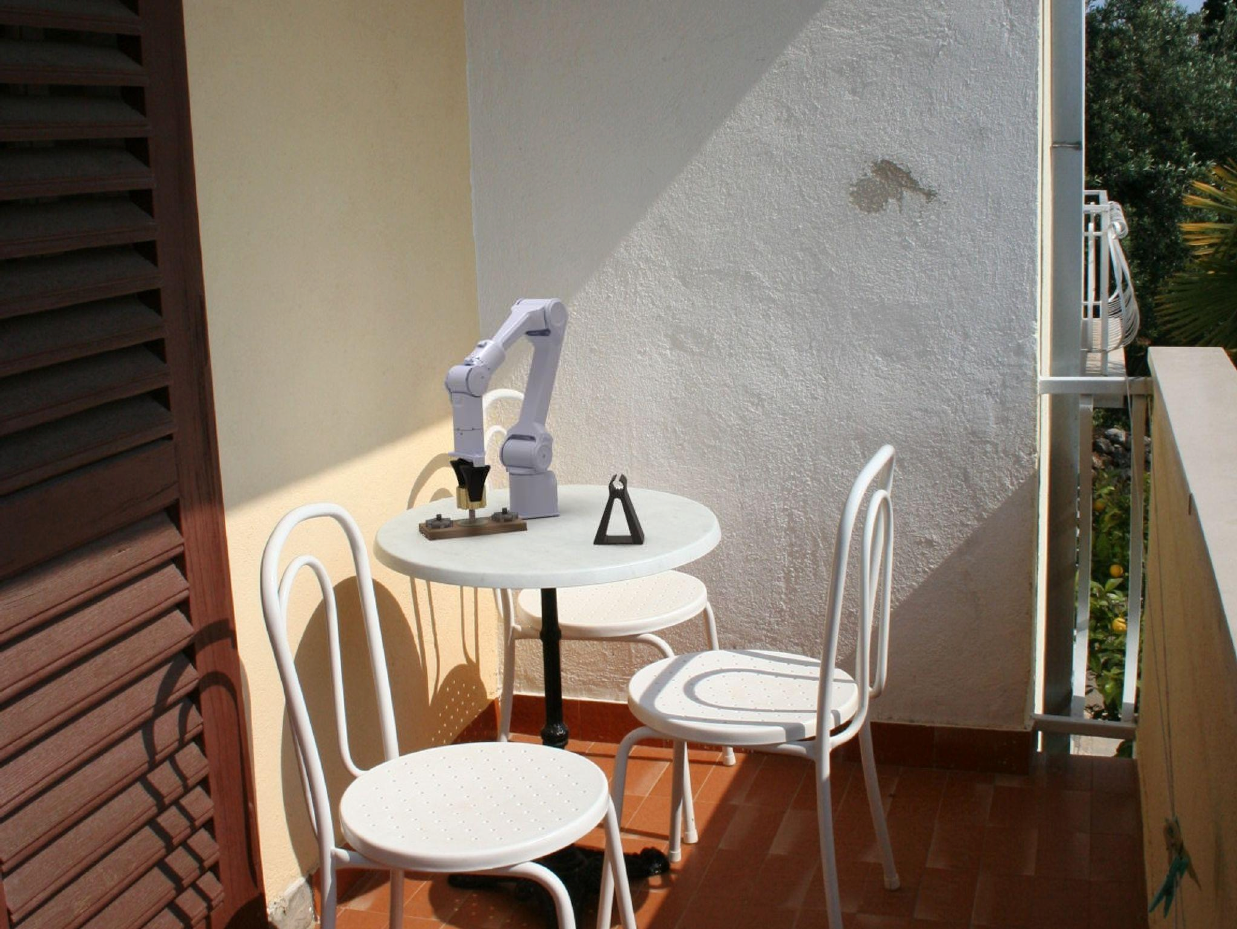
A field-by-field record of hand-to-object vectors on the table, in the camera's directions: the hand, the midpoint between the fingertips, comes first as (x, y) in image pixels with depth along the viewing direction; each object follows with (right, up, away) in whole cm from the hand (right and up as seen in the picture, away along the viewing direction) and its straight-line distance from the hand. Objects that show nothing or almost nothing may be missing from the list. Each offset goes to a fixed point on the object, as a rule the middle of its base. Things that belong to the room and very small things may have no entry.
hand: (471, 498), depth 236 cm
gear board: (0, -6, +1) cm, 6 cm away
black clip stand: (+28, -8, -10) cm, 31 cm away
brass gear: (0, -2, 0) cm, 2 cm away
